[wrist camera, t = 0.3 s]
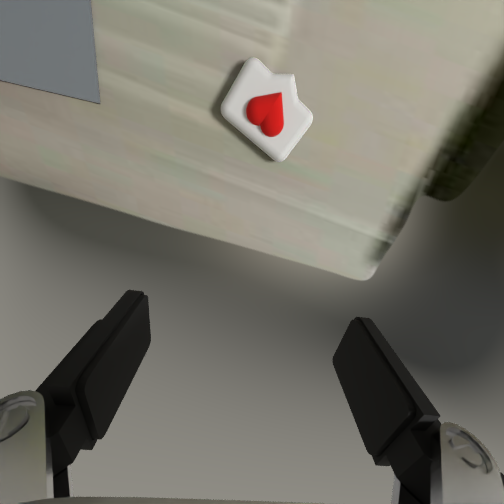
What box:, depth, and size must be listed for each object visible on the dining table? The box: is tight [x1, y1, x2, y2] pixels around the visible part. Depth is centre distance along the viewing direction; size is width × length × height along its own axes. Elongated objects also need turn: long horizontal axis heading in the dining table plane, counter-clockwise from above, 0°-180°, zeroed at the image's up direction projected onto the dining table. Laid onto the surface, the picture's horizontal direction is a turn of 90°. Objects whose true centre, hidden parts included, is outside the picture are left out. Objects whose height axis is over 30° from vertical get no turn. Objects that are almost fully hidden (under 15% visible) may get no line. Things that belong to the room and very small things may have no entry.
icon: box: [221, 57, 313, 162], centre depth 30 cm, size 12×4×10 cm
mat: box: [0, 0, 100, 103], centre depth 27 cm, size 15×22×1 cm
